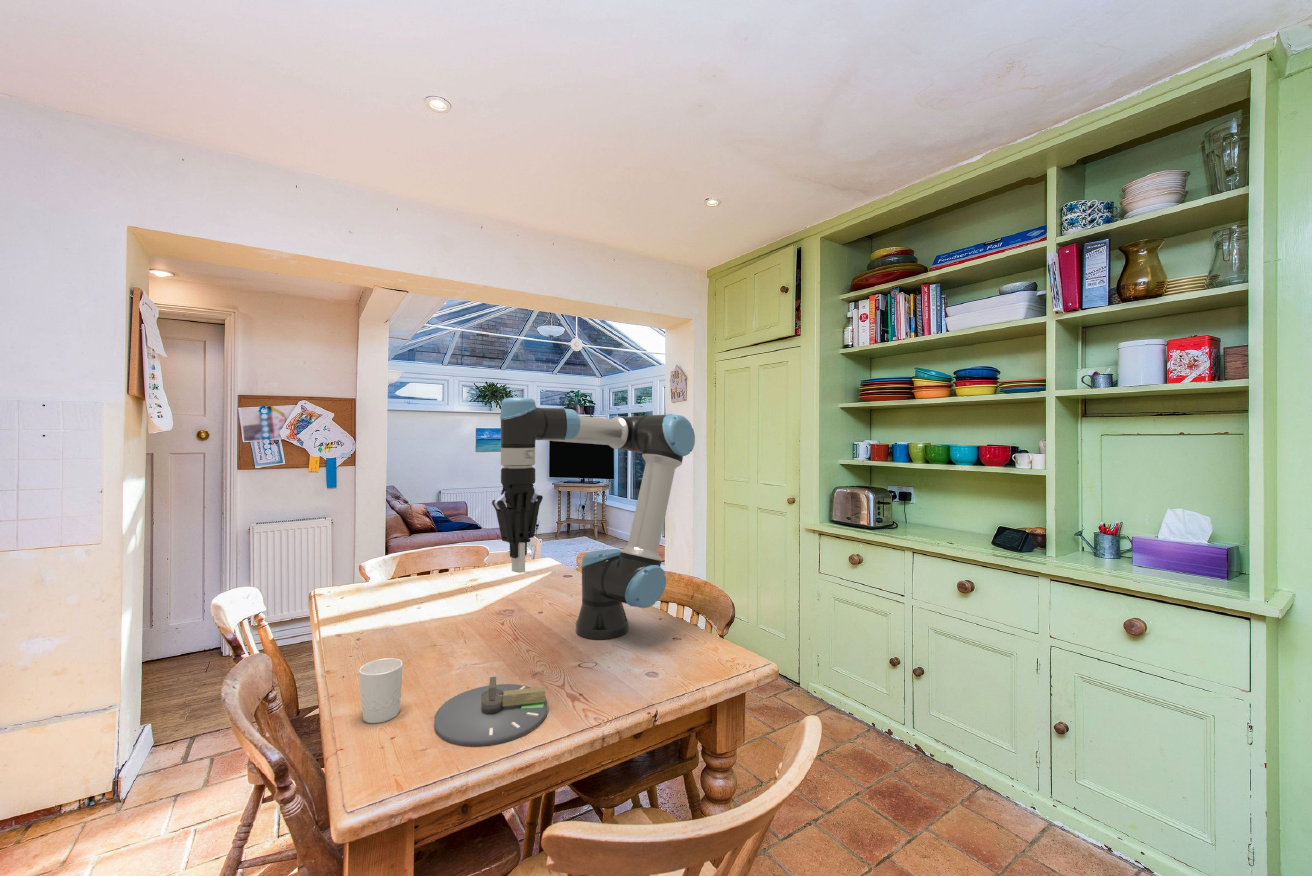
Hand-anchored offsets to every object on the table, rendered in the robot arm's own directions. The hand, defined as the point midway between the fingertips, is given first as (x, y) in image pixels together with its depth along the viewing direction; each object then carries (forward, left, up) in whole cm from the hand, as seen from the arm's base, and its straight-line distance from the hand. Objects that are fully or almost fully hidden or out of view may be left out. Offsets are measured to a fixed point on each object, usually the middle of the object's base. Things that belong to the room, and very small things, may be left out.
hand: (518, 571), depth 122 cm
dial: (+7, -10, -26) cm, 29 cm away
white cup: (-9, -26, -27) cm, 38 cm away
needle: (+9, -6, -25) cm, 27 cm away
